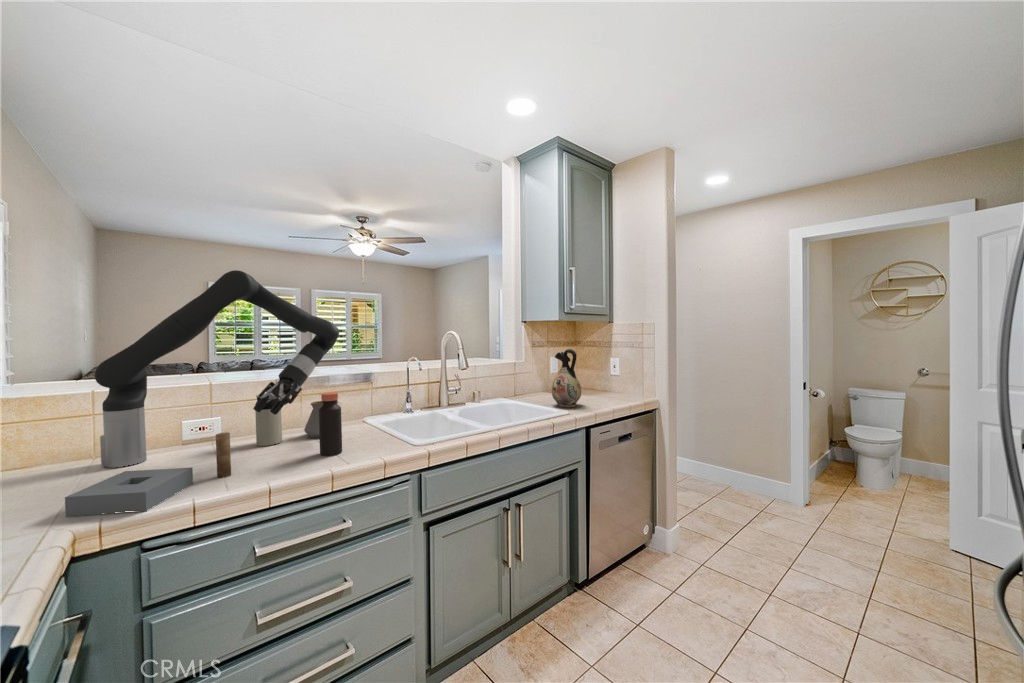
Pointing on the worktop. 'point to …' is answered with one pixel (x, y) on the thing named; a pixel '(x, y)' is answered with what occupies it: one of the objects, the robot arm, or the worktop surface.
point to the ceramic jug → (566, 382)
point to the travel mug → (268, 424)
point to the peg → (223, 454)
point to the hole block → (128, 491)
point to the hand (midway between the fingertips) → (264, 411)
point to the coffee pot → (314, 420)
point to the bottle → (330, 425)
